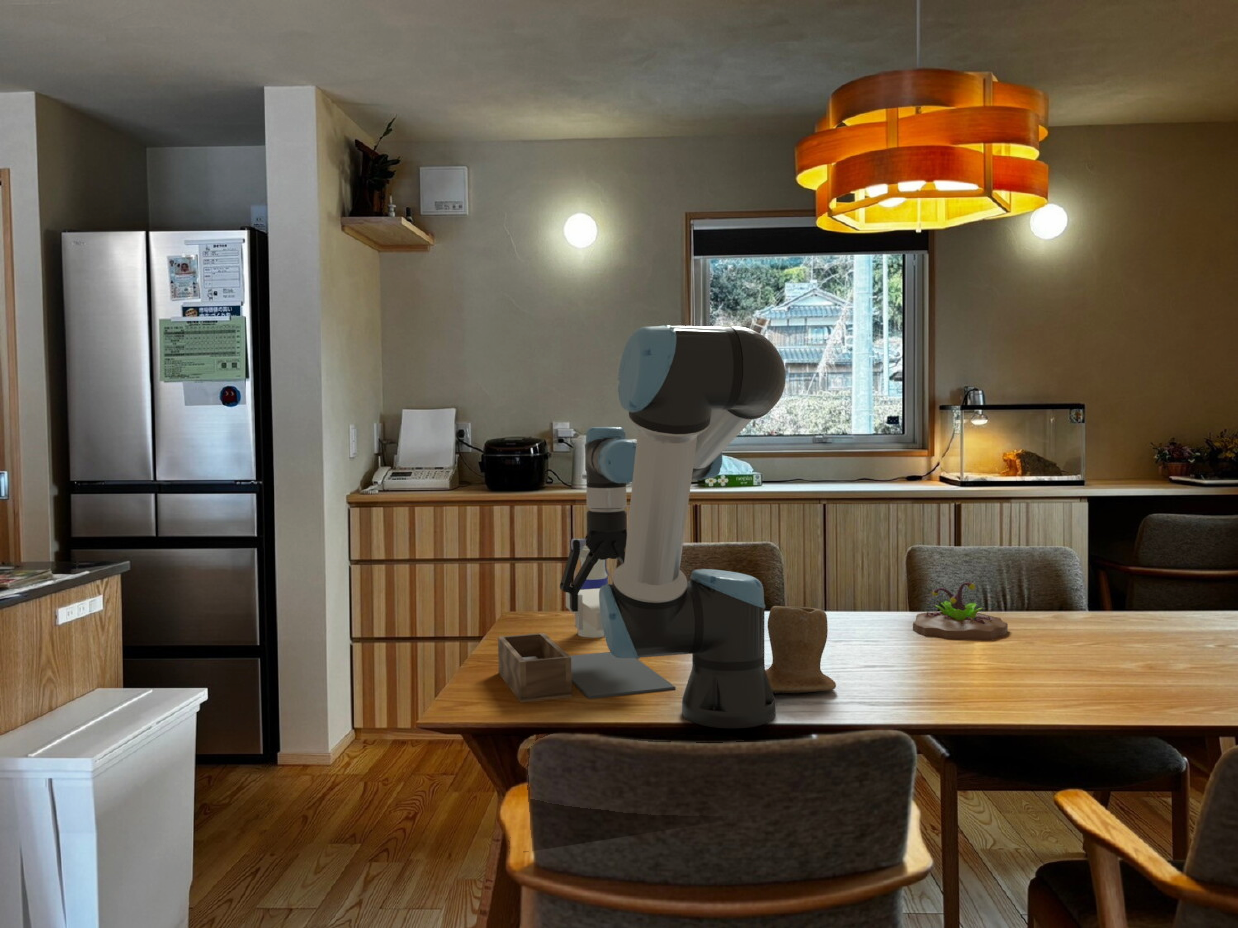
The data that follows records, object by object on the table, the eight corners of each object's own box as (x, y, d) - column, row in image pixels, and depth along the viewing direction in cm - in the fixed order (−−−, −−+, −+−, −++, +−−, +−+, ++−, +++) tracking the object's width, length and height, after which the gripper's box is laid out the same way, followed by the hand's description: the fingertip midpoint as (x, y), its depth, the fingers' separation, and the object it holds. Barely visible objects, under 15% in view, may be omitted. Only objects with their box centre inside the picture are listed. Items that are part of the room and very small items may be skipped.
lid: (653, 625, 171) (653, 608, 171) (597, 630, 168) (597, 612, 168) (616, 602, 192) (616, 587, 191) (565, 606, 188) (565, 590, 188)
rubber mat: (675, 689, 169) (675, 686, 169) (588, 698, 164) (588, 696, 164) (625, 652, 196) (625, 650, 196) (549, 659, 191) (549, 657, 191)
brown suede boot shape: (823, 679, 175) (823, 598, 174) (842, 698, 163) (842, 611, 162) (741, 681, 174) (741, 599, 173) (754, 700, 162) (753, 613, 161)
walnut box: (571, 697, 165) (571, 657, 165) (520, 702, 163) (520, 662, 162) (544, 668, 184) (544, 632, 184) (498, 673, 182) (497, 636, 181)
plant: (1006, 645, 200) (1006, 591, 199) (909, 637, 207) (909, 586, 207) (1008, 625, 218) (1008, 576, 217) (918, 619, 226) (918, 572, 225)
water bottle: (577, 629, 218) (575, 520, 217) (614, 629, 217) (612, 520, 216) (572, 637, 210) (570, 524, 209) (610, 637, 209) (609, 524, 208)
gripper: (657, 504, 186) (658, 616, 187) (541, 510, 179) (543, 626, 180) (671, 508, 178) (672, 625, 180) (551, 514, 171) (553, 635, 173)
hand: (608, 625), depth 180 cm, fingers closed on lid, 11 cm apart
